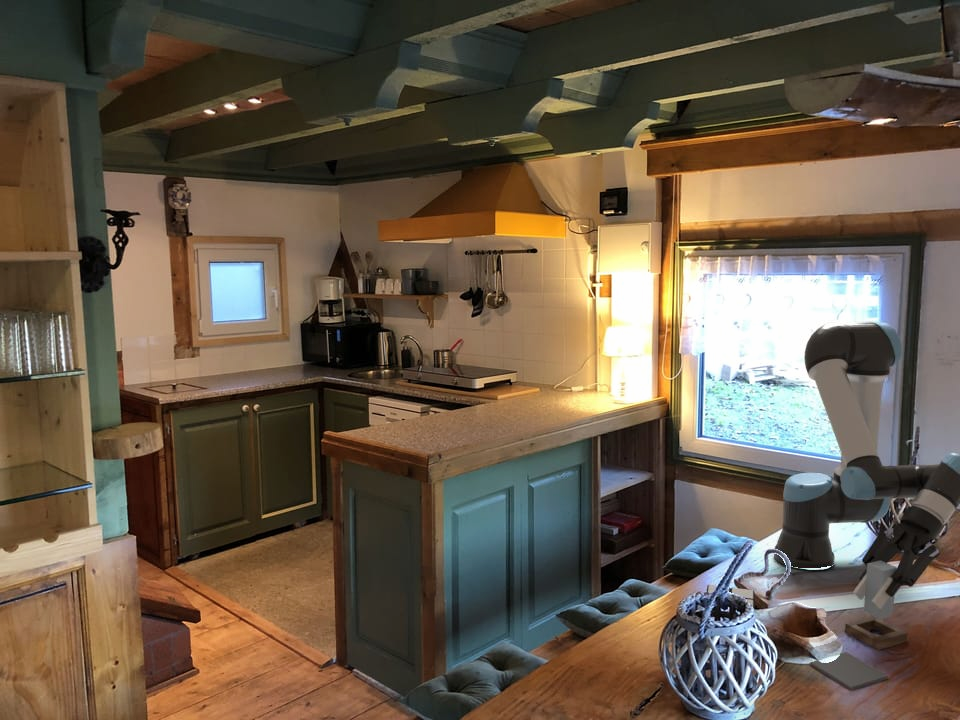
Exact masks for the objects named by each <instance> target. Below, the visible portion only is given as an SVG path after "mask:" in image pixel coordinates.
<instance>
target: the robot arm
mask: <svg viewBox="0 0 960 720" xmlns="http://www.w3.org/2000/svg"><path fill="white" fill-rule="evenodd" d="M902 353H903V346H902V341H901V337H900V335H899V333H897V330H896V329H895V327H893V326H892V324H889V323H887V322H881V321H880V322H879V321H855V322H854V321H850V322H849V321H848V322H847V321H846V322H838V321H837V322H836V321H835V322H828V323H826V324H823V325H822V326H820V327H818V328H817V329H816V330H815V331H814V332H813V333H812V334H811V335H810V337H809V339H808V341H807V343H806V345H805V350H804V358H803V359H804V367H805V369H806V372H807V375H808V377H809V379H811V380H813V381H815V385H816V386H817V387H816V388H817V389H818V392H819V393H818V394H819V397H820V398H821V401H822V404H823V407H824V409H825V412H826V414H827V418H828V420H829V423H830V425H831V429H832V431H833V434H834V436H835V439H836V442H837V446H838V448H839V451H840V464H839V465H838V466H837V467H835V468H834V470H833V479H832V478H831V477H830V476H829V475H827V474H825V473H820V472H816V473H815V472H802V473H797V474H794V475H791V476H789V477H788V478H787V479H786V480H785V483H784V489H783V493H782V496H783V501H782V503H783V504H782V525H781V526H782V528H781V532H780V534H779V536H778V539H777V542H776V544H775V546H774V549H778V550H780V551H782V552H783V553H785V554H786V555H787V557H788V558H789V560H790V562H791V566H793V567H798V568H821V567H827V566H832V565H833V564H834V565H835V558H836V557H835V553H834V552H833V548H832V544H831V543H832V542H831V540H830V535H829V534H830V524H844V523H845V524H847V523H851V524H852V523H869V522H877V521H880V520H881V519H882V518H884V517H885V515H886V514H887V513H888V511H889V509H890V506H891V505H890V504H891V499H913V501H911V503H910V504H911V506H909V507H907V509H906V510H905V512H904V513H903V515H902V516H901V519H900V521H899V523H898V524H897V525H895V526H894V527H893V528H889V527H886V526H885V525H881V526H879V531H878V534H877V536H876V538H875V539H874V541H873V542H872V544H871V545H870V546H869V548H868V550H867V551H866V553H865V554H864V555H863V557H862V559H861V562H862V563H863V564H864V565H865V569H864V571H863V573H862V574H861V575H860V577H859V581H860V582H859V583H858V585H857V586H856V587H855V588H854V590H853V592H852V593H853V594H854V595H855V596H856V598H858V599H859V600H861V601H862V600H863V599H865V588H866V574H867V563H872V562H876V561H880V560H881V561H883V562H885V563H888V564H889V562H890V560H892V559H893V558H894V557H895V556H896V555H897V554H900V553H901V552H903V554H902V556H901V559H900V561H899V563H898V566H896V567H897V570H896V572H895V574H894V575H892V577H893V578H894V579H892V578H890V577H888V579H887V580H886V582H885V583H884V584H883V586H882V587H881V589H880V590H879V591H878V593H877V594H876V596H875V597H874V598H873V600H872V602H873V604H874V605H875V606H876V607H877V608H878V609H881V608H882V607H883V605H884V604H885V602H886V601H887V599H888V598H889V597H890V596H891V597H893V596H894V597H895V595H896V594H897V592H898V591H899V590H900V589H901V587H903V586H907V587H908V588H911V587H914V585H915V584H916V583H917V582H918V580H919V579H920V577H921V576H922V575H923V573H924V572H925V571H926V569H927V568H928V567H929V565H930V564H931V563H932V561H934V560H935V559H936V558H937V557H939V556H940V555H941V552H940V551H939V549H938V548H937V546H936V545H934V544H933V540H934V539H936V538H937V537H938V535H939V534H940V532H941V531H942V530H943V528H944V526H943V525H946V524H947V522H948V521H949V519H950V518H951V517H952V515H953V514H954V512H955V511H956V510H957V508H958V507H959V505H960V454H959V453H957V452H955V453H954V452H951V453H947V454H946V455H945V456H944V457H943V458H942V459H941V460H940V463H938V464H917V463H916V464H906V465H883V463H882V461H881V459H880V456H879V453H878V445H879V444H878V443H879V434H880V433H879V432H880V418H881V404H882V394H883V393H882V392H883V390H882V389H883V381H885V379H886V378H888V377H889V376H890V373H891V372H890V371H891V370H890V369H891V367H894V366H896V365H897V364H898V363H899V361H900V360H901V358H902ZM892 536H893V537H892ZM920 552H921V553H920ZM918 555H919V556H918ZM773 558H774V559H775V561H777V562H778V563H779V564H781V565H783V566H785V563H784V561H783V559H782V558H781V557H780V556H779V555H777V554H774V553H773Z"/></svg>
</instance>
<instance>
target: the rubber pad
mask: <svg viewBox="0 0 960 720" xmlns="http://www.w3.org/2000/svg"><path fill="white" fill-rule="evenodd" d="M839 654H840V656H839V657H838V658H837V659H836V660H834V661H832V662H829V663H821V662H818V661H816V660H813V661H814V662H813V661H810V663H809V665H810V666H811V667H813V668H814V669H816V670H818V671H819V672H821V673H823V674H824V675H825V676H826V677H827V676H828V678H831V679H832V680H833V681H835V682H837V683H839V684H840V685H842V686H844V688H847V689H848V690H850V691H853V690H855V689H859V688H861V687H866V686H868V685H872V684H876V683H878V682H881V681H884V680H887V679H889V675H888V674H886V673H884V672H883V671H881V670H879V669H877V668H876V667H874V666H872V665H870V664H869V663H867V662H865V661H863V660H861V659H860V658H858V657H856V656H855V655H853V654H851V653H849V652H847V651H845V652H841V653H839ZM852 689H853V690H852Z"/></svg>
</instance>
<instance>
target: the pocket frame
mask: <svg viewBox="0 0 960 720" xmlns="http://www.w3.org/2000/svg"><path fill="white" fill-rule="evenodd" d="M844 625H845V626H844V633H846V634H848V635H850V636H851V637H854V638H856V639H858V640H860V642H863V643H864V644H867V645H868V646H871V647H872V648H873V649H876V650H878V651H879V650H882V649H883V650H884V649H887V648H889V647H893V646H897V645H900V644H904V643H907V641H908V635H909V632H907V631H904V630H903V629H901V628H899V627H896V626H895V625H892V624H890V623H889V622H886V621H885V620H883V619H878V618H876V617H874V616H872V615H870V616H868V617H864V618H860V619H855V620H853V621H848V622H845V624H844ZM873 629H874V630H876V631H877V632H880V633H881V634H882V635H876V634H874V633H872V632H870V631H869V630H873Z"/></svg>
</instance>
